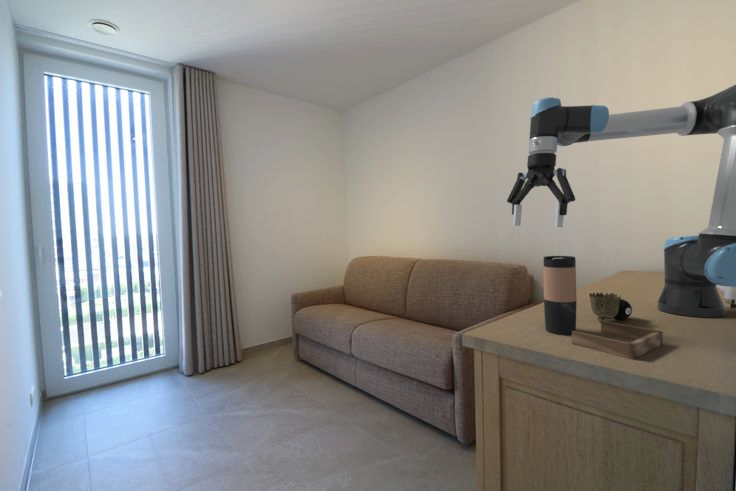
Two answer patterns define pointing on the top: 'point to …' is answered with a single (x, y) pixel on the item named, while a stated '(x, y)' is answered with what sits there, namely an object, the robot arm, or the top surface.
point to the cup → (605, 305)
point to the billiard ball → (623, 310)
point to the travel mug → (560, 294)
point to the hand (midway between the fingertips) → (536, 226)
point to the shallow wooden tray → (641, 345)
